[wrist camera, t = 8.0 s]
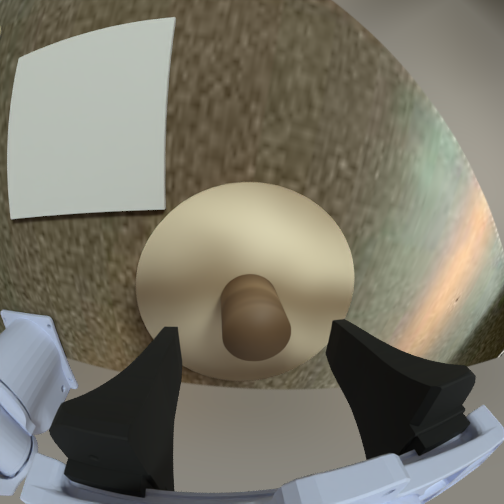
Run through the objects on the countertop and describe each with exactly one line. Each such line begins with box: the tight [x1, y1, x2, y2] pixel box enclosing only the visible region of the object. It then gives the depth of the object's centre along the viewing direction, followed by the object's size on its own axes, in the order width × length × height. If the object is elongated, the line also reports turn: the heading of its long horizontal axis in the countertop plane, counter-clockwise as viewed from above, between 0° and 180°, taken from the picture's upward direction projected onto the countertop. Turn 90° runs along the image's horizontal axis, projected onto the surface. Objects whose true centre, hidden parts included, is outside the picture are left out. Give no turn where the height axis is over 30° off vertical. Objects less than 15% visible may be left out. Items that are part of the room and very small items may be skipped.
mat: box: [7, 17, 176, 219], centre depth 16 cm, size 15×15×1 cm
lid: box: [136, 182, 354, 381], centre depth 14 cm, size 13×13×4 cm
